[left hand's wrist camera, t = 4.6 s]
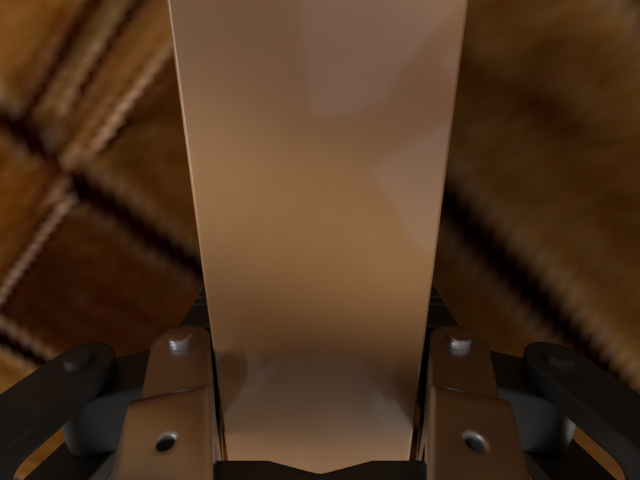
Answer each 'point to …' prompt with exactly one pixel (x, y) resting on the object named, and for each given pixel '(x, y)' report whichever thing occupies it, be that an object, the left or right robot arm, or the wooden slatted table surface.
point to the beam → (317, 212)
